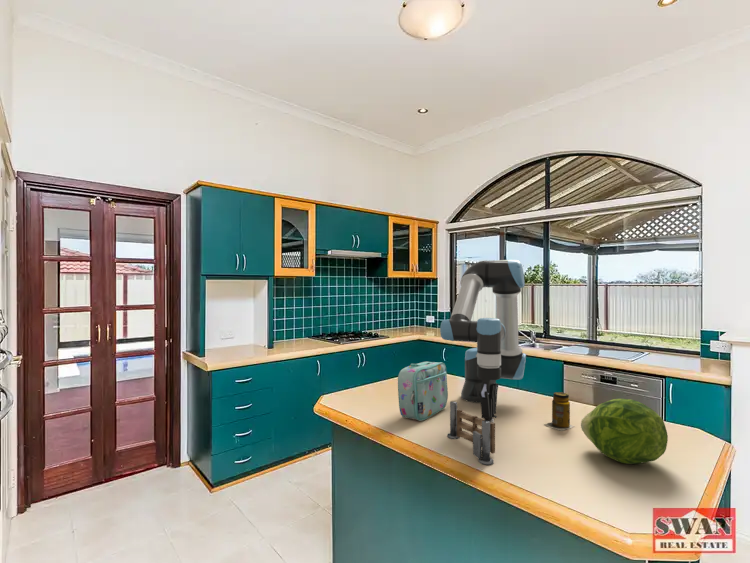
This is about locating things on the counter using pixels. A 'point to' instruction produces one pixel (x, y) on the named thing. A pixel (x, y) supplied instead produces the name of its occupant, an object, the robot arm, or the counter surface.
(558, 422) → the condiment
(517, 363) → the robot arm
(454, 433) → the hinge post
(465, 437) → the gate
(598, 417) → the lettuce
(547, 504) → the counter surface
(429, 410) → the lunch box
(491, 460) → the post
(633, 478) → the counter surface
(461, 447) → the counter surface
